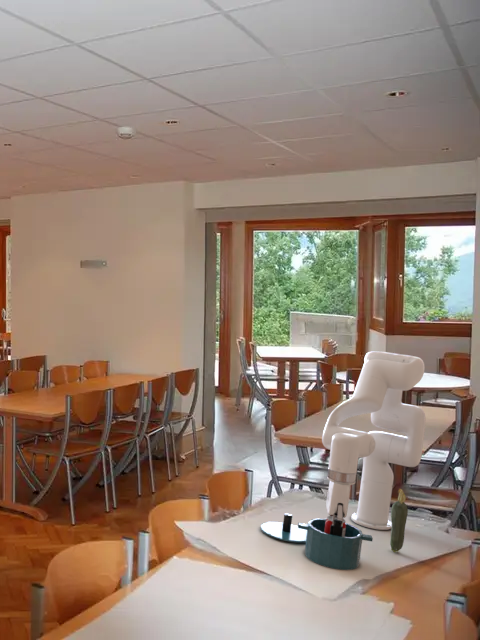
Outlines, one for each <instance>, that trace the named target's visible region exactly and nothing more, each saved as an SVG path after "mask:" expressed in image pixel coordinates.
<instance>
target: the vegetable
mask: <svg viewBox="0 0 480 640" xmlns="http://www.w3.org/2000/svg"><path fill="white" fill-rule="evenodd" d="M397 493H398V496H397V501H395V502H393V504H392V506H391V508H390V509H391V510H390V521H391V522H392V528H391V529H390V530H391V531H390V542H389V545H390V549H391V551H392V552H393V553H395V552H399V551H401V549H402V548H403V546H404V543H405V542H404V541H405V531H406V524H407V519H408V514H409V513H408V512H409V510H408V506H407V504H406V503H405V502H406V499H407V497H406V496H407V495H406V494H405V492H404V490H403V489H402V488H398V491H397Z"/></svg>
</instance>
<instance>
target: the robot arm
mask: <svg viewBox="0 0 480 640" xmlns="http://www.w3.org/2000/svg"><path fill="white" fill-rule="evenodd" d="M363 361H364V363H363V366H362V369H361V371H360V374H359V377H358V380H357V382H356V386H355V388H354V392H353V394H352V397H350V398H349V399H347V400H344V401H343V402H342V403H340V404H339V405H338V406H336V407H335V408H334V409H333V410H332V411H331V412H330V414H329V415H328V418H327V420H326V422H325V426H324V429H323V431H322V435H321V442H322V445H323V447H324V448H325V449H326V450H330V451H329V461H328V468H327V477H326V478H327V480H328V481H329V484H328V490H327V494H326V495H327V496H326V503H325V508H326V512H327V514H328V516H333V519H332V525H331V528H330V534H331V535H335V536H340V537H342V531H343V519H345V518H346V517H348V516H347V515H348V510H349V503H350V497H351V496H350V495H351V486H352V485H355V484H356V480H357V471H358V463H359V459H360V458H361V459H362V460H363V461H362V472H361V479H360V488H359V495H358V503H357V509H356V513H355V512H354V513H352V514H351V517H350V520H351V521H352V522H353V523H355V524H357V525H359V526H361V527H365V528H368V529H371V530H372V529H373V530H378V531H379V530H380V531H387V530H391V529H392V522H391V520H390V519H389V518H390V517H389V515H390V509H391V500H392V494H393V486H394V478H395V477H394V472H393V470H392V467H391V466H390V464H394V465H397V466H401V467H402V466H403V467H406V468H407V467H408V468H415V467H417V466H419V464H420V463H421V460H422V455H423V448H424V439H425V430H426V414H425V411H424V409H423V408H421V407H420V406H417V405H413V404H408V403H403V402H402V399H403V392H404V391H410V390H411V389H413V388H414V387H415V386H416V385H417V384H419V383H420V382H421V380H422V378H423V376H424V375H425V369H426V368H425V362H424V360H423V359H422V358H421V357H418V356H413V355H408V354H400V353H395V352H394V353H393V352H387V351H379V350H378V351H376V350H375V351H368V352H367V353H366V354H365V356H364V358H363ZM368 414H370V421H371V422H370V423H371V424H372V425H373V426H374V427H376V428H378V429H381V430H382V429H383V430H385V431H380V430H372V431H369V432H366V431H362V430H357V429H354V428H348V427H344V426H340V424H342V422H344V421H345V420H347V419H350V418H352V417H357V416H363V415H368ZM386 430H387V431H392V432H396V433H401V434H404V435H405V436H404V435H400V434H395V433H390V432H386ZM335 517H336V518H337V519H335Z"/></svg>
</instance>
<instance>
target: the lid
mask: <svg viewBox="0 0 480 640" xmlns="http://www.w3.org/2000/svg"><path fill="white" fill-rule="evenodd" d="M292 522H293V514H292V513H289V512H285V513H284V514H283V521H266V522H263V523H261V525H260V530H261V532H262V533H264V534H265V535H267V536H269V537H271V538H274V539H276V540H280V541H284V542H288V543H289V542H290V543H306V536H307V530H305V529H299V528H298V524H297V525H296V524H293V523H292Z"/></svg>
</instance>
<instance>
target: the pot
mask: <svg viewBox="0 0 480 640" xmlns="http://www.w3.org/2000/svg"><path fill="white" fill-rule="evenodd" d="M326 520H327V518H312V519H309V521H307V523H303V522H298V523H297V526H298V528H299V529H305V530H307V536H306V542H305V546H304V555H305V557H306V558H307V559H308V560H309V561H311V562H313V563H315V564H317V565H320V566H323V567H326V568H329V569H334V570H342V571H351V570H355V569H357V568H358V567H359V565H360V562H361V561H360V560H361V553H362V546H363V545H362V544H363V541H366V542H373V540H374V537H373V535H371V534H366V533H363V532H362V530H361V529H359V528H358V527H357V526H355V525H352V524H350V523H348V522H345V524H346V530H345V537H340V536H335V535H331V534H327V533H324V530H325V522H326Z"/></svg>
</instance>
